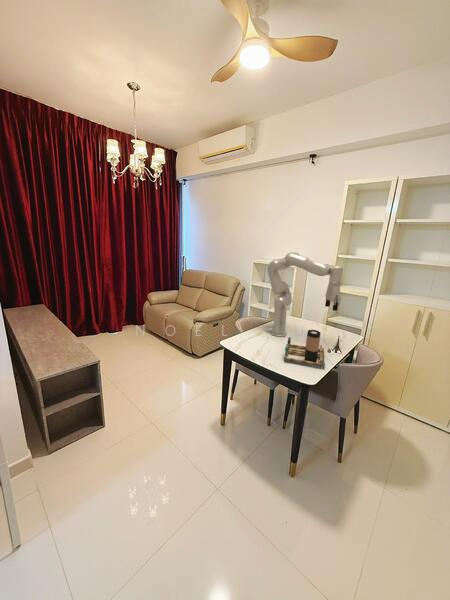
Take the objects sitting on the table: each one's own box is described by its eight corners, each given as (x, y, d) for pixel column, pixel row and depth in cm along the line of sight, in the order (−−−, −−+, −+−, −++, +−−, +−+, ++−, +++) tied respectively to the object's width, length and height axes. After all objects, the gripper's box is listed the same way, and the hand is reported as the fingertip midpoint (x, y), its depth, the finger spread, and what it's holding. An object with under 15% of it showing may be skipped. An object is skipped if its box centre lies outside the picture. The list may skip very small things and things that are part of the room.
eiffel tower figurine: (330, 346, 178) (333, 329, 175) (346, 350, 172) (348, 332, 169) (325, 353, 167) (328, 335, 163) (341, 358, 161) (344, 339, 157)
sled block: (286, 351, 166) (287, 340, 164) (287, 346, 174) (288, 336, 173) (321, 358, 159) (322, 346, 157) (321, 352, 167) (322, 341, 165)
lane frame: (283, 362, 152) (284, 358, 151) (288, 345, 176) (288, 342, 175) (324, 369, 144) (324, 366, 144) (323, 351, 168) (323, 348, 167)
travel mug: (302, 358, 157) (305, 329, 152) (313, 358, 158) (317, 329, 153) (307, 364, 150) (310, 334, 145) (318, 364, 150) (323, 334, 146)
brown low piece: (283, 361, 153) (284, 349, 152) (286, 353, 164) (287, 342, 162) (321, 368, 146) (323, 355, 144) (321, 359, 157) (322, 347, 155)
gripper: (323, 281, 173) (319, 305, 177) (336, 286, 156) (332, 312, 160) (333, 281, 174) (329, 305, 178) (347, 286, 157) (343, 312, 161)
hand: (331, 308), depth 169 cm, fingers open, 9 cm apart
